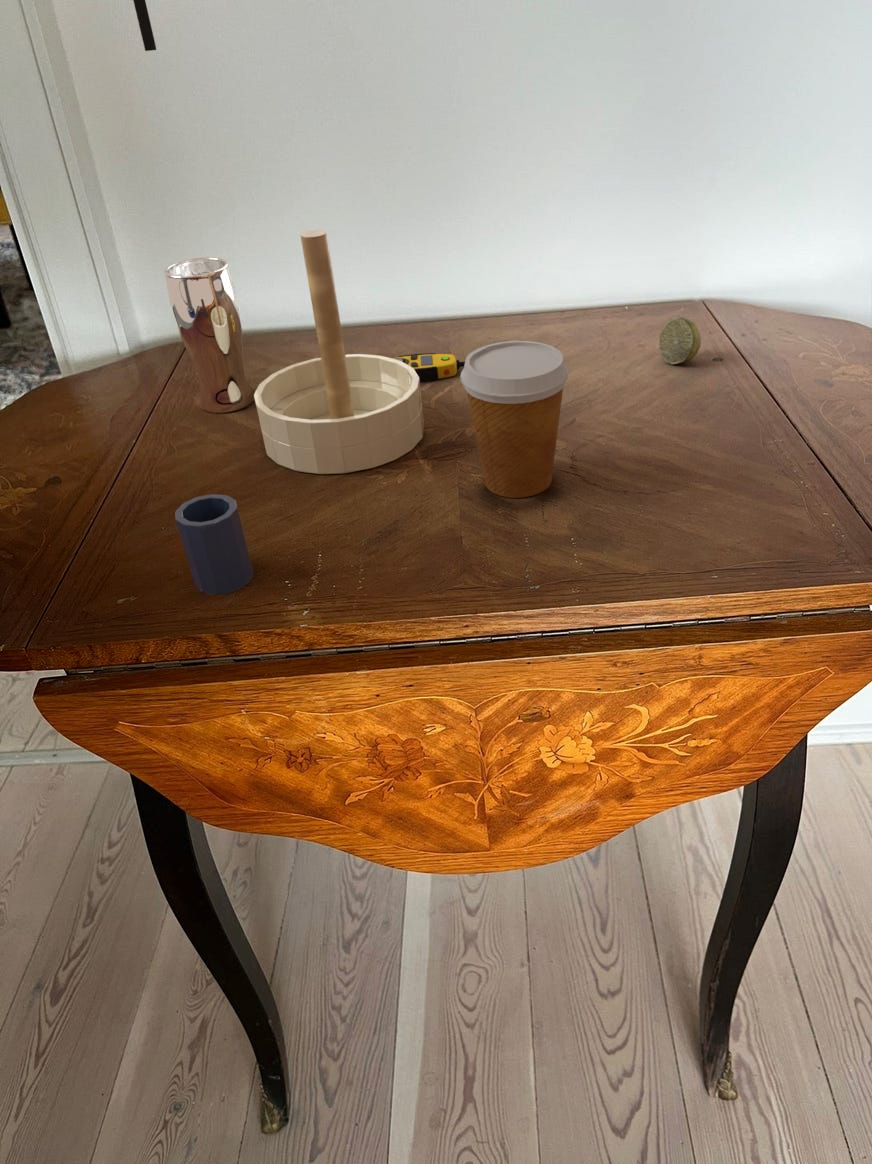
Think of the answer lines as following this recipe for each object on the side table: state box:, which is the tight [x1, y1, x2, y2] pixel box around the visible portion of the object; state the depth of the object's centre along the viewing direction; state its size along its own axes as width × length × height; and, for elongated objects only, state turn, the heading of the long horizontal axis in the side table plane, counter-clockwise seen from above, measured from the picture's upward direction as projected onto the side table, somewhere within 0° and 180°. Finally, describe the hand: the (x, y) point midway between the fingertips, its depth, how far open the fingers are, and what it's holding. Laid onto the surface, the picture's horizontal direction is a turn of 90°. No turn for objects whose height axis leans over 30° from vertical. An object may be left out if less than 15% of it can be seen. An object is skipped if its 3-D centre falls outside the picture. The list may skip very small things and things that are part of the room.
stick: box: [299, 229, 354, 419], centre depth 92 cm, size 2×2×20 cm
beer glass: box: [163, 256, 255, 414], centre depth 104 cm, size 7×7×15 cm
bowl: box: [253, 353, 425, 475], centre depth 97 cm, size 16×16×6 cm
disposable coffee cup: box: [460, 340, 570, 499], centre depth 86 cm, size 10×10×12 cm
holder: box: [174, 493, 255, 595], centre depth 77 cm, size 5×5×7 cm
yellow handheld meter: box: [392, 352, 465, 383], centre depth 111 cm, size 5×2×15 cm
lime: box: [658, 316, 702, 365], centre depth 108 cm, size 4×5×5 cm
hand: (49, 59), depth 65 cm, fingers open, 13 cm apart
